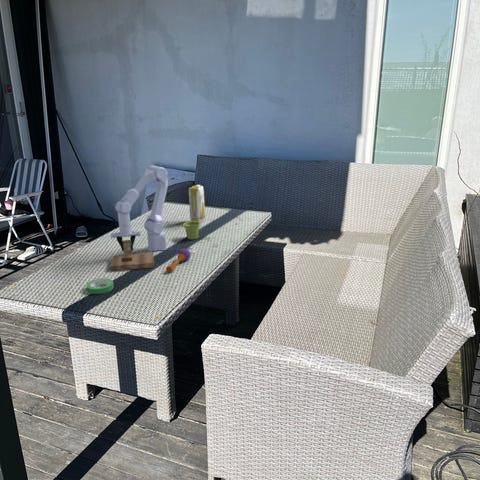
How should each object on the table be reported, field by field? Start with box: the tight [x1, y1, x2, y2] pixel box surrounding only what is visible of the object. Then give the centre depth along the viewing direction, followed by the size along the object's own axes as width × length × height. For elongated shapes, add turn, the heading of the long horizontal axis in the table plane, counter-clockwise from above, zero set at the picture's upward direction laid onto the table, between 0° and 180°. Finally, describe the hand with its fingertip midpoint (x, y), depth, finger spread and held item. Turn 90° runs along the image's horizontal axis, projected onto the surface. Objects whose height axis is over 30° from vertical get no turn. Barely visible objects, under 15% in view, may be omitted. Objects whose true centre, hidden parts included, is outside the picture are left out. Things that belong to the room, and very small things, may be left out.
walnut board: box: [110, 252, 155, 272], centre depth 224 cm, size 20×14×2 cm
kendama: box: [165, 248, 191, 274], centre depth 222 cm, size 6×6×20 cm
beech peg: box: [122, 239, 133, 255], centre depth 234 cm, size 4×4×8 cm
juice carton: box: [188, 184, 206, 225], centre depth 287 cm, size 9×8×24 cm
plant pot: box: [182, 220, 201, 240], centre depth 260 cm, size 9×9×9 cm
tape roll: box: [86, 277, 115, 295], centre depth 198 cm, size 11×11×3 cm
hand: (127, 250), depth 234 cm, fingers closed on beech peg, 4 cm apart
